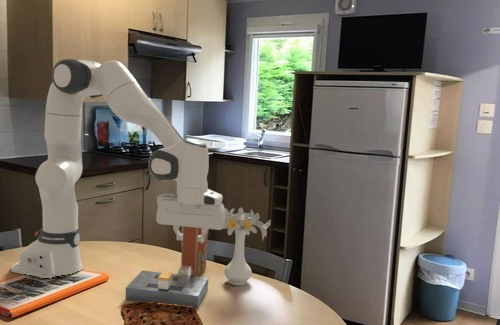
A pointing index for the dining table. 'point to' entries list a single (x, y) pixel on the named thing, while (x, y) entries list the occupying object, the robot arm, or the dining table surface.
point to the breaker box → (180, 292)
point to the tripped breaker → (165, 280)
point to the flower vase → (241, 243)
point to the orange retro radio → (194, 249)
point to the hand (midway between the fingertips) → (189, 240)
